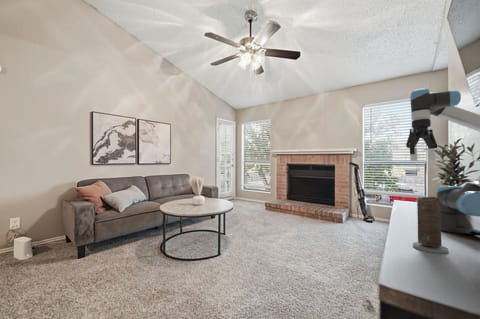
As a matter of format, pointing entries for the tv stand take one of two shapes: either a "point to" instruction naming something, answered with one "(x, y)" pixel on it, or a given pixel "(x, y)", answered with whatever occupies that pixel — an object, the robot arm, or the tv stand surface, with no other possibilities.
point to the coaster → (431, 249)
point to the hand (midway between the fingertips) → (422, 161)
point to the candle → (429, 221)
